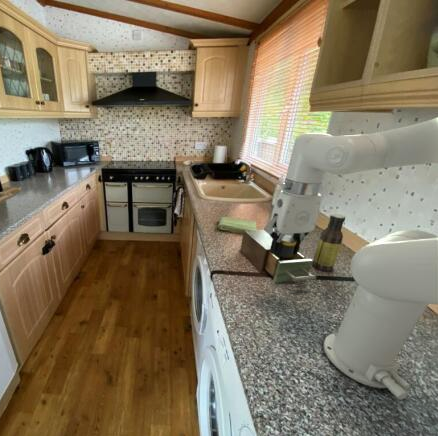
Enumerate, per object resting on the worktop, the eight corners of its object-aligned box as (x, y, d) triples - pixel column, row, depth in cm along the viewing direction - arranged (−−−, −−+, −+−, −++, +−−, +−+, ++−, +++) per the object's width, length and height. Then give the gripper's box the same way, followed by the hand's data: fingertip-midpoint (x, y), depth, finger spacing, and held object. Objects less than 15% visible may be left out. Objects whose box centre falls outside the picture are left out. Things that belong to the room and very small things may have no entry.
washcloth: (257, 236, 110) (258, 230, 108) (217, 230, 115) (217, 224, 114) (255, 225, 121) (256, 219, 120) (219, 220, 126) (219, 214, 125)
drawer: (318, 289, 75) (325, 269, 72) (285, 292, 74) (291, 272, 71) (280, 257, 92) (285, 240, 89) (252, 259, 90) (256, 242, 87)
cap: (296, 256, 64) (300, 241, 62) (281, 258, 63) (285, 243, 62) (284, 248, 68) (288, 233, 66) (270, 249, 67) (273, 235, 66)
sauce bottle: (336, 270, 86) (356, 219, 78) (322, 272, 85) (341, 220, 77) (320, 260, 92) (337, 211, 84) (307, 262, 90) (323, 213, 83)
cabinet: (293, 269, 86) (299, 247, 83) (260, 272, 85) (266, 249, 81) (268, 248, 100) (273, 228, 96) (240, 250, 98) (243, 230, 94)
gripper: (280, 193, 54) (263, 262, 61) (345, 190, 56) (321, 257, 64) (260, 184, 60) (247, 247, 68) (319, 182, 63) (300, 243, 70)
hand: (283, 251), depth 66 cm, fingers closed on cap, 4 cm apart
